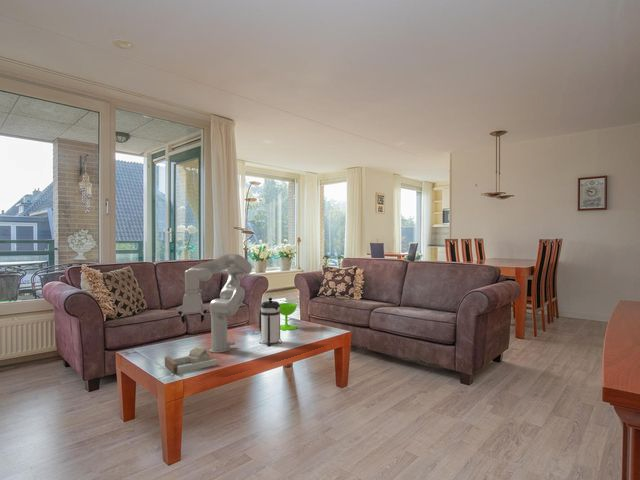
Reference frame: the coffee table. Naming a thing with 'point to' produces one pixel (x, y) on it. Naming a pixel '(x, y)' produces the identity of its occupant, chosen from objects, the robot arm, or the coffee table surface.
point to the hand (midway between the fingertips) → (192, 322)
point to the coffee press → (270, 322)
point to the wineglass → (287, 310)
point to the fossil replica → (198, 355)
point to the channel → (172, 365)
